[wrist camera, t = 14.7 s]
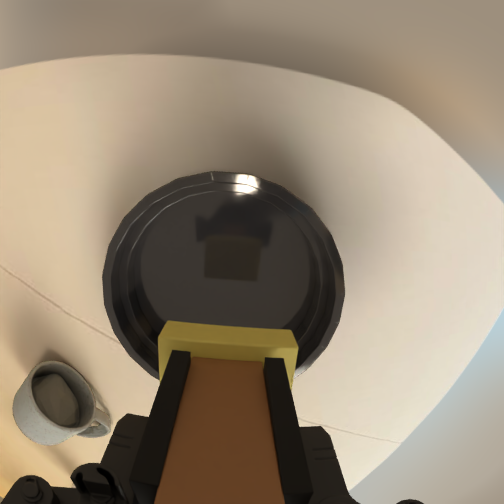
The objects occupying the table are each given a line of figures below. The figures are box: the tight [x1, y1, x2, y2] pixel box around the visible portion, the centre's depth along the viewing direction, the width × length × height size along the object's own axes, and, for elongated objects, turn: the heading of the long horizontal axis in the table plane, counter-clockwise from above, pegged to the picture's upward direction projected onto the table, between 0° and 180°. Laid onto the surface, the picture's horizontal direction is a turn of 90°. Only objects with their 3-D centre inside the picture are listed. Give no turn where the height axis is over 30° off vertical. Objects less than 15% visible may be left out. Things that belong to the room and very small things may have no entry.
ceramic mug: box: [13, 361, 111, 445], centre depth 24 cm, size 11×8×8 cm
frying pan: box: [102, 171, 345, 380], centre depth 23 cm, size 17×17×4 cm
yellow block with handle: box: [154, 321, 298, 504], centre depth 9 cm, size 6×4×11 cm
